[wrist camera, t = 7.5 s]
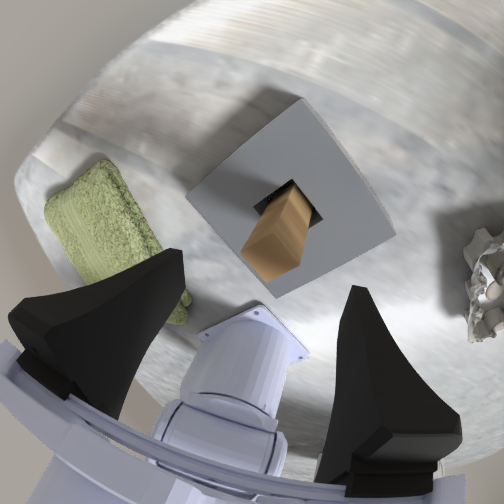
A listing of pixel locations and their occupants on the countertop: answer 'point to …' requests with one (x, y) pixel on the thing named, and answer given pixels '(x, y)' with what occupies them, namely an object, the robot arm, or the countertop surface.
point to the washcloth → (104, 228)
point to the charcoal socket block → (312, 185)
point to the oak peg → (279, 234)
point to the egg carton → (484, 284)
